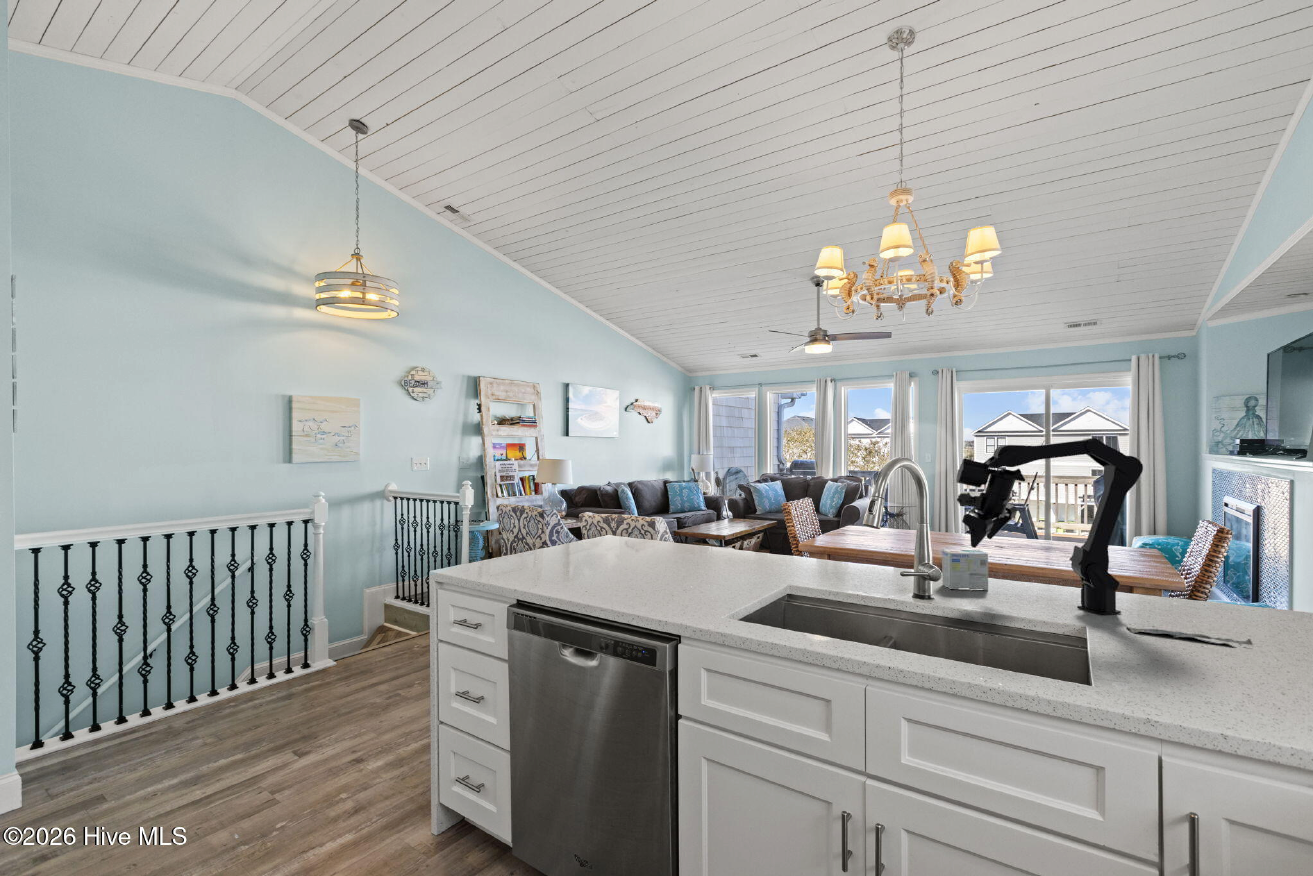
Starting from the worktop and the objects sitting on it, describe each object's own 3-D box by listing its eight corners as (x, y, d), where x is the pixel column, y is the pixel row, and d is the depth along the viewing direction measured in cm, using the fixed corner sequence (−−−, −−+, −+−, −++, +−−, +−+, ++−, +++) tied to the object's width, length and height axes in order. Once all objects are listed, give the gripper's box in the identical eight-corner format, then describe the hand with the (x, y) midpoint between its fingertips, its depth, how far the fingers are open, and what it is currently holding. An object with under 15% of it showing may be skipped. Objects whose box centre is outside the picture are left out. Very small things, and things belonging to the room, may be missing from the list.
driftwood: (1126, 635, 131) (1126, 625, 131) (1124, 627, 137) (1124, 618, 137) (1258, 655, 119) (1258, 645, 119) (1250, 646, 125) (1250, 636, 125)
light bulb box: (979, 586, 175) (978, 549, 175) (989, 591, 168) (989, 553, 168) (941, 585, 176) (941, 548, 176) (949, 590, 169) (949, 552, 169)
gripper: (984, 472, 168) (968, 521, 173) (951, 486, 156) (935, 537, 162) (1025, 488, 160) (1007, 539, 165) (994, 503, 148) (976, 557, 154)
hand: (981, 542), depth 162 cm, fingers open, 9 cm apart
